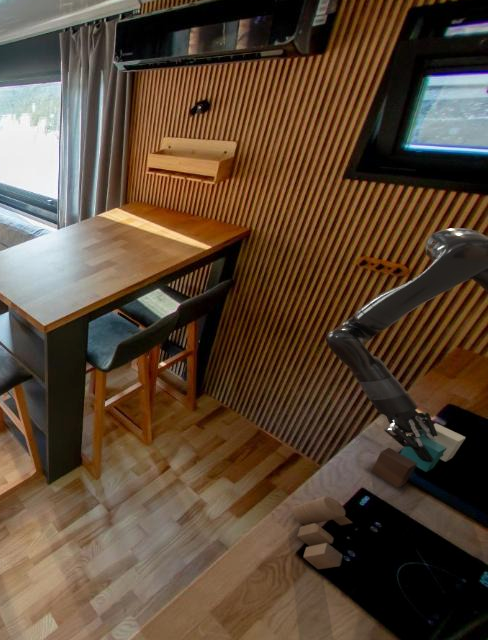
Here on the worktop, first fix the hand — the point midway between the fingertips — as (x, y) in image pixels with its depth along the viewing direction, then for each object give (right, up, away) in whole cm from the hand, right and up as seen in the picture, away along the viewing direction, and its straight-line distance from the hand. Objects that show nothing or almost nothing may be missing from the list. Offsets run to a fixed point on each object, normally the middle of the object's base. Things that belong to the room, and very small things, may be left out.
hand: (433, 458), depth 93 cm
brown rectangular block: (-10, -6, +1) cm, 12 cm away
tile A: (+7, -1, +5) cm, 9 cm away
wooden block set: (-38, -15, -7) cm, 42 cm away
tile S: (0, -3, +4) cm, 5 cm away
